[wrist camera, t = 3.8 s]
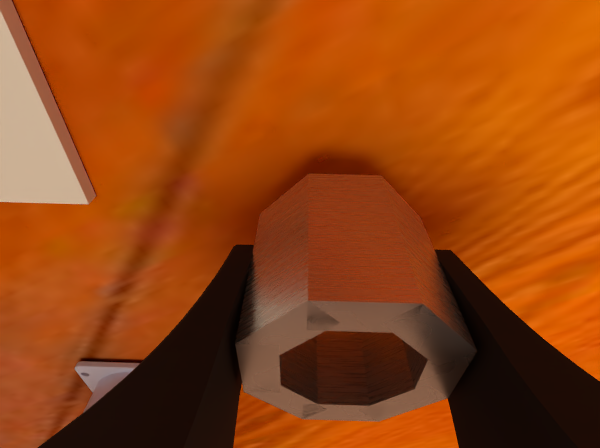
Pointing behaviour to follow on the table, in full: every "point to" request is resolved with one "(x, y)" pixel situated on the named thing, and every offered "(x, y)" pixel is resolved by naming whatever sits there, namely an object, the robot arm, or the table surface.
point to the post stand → (33, 128)
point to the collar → (348, 305)
